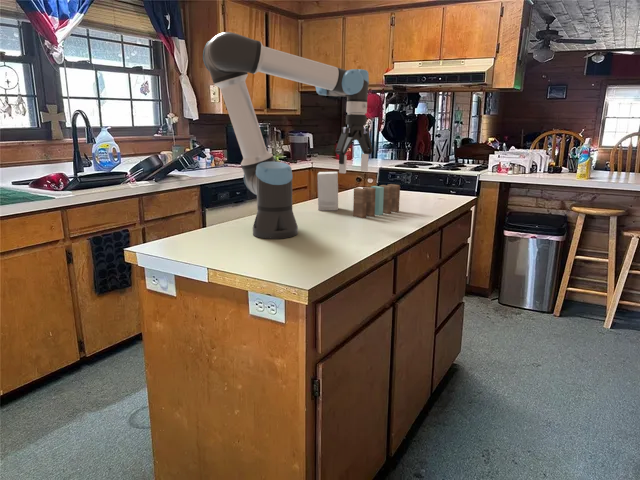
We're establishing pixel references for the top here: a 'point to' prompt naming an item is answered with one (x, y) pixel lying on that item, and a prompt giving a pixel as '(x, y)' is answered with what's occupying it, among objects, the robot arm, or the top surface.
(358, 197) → the domino
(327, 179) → the skincare box
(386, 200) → the domino
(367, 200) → the domino
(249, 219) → the top surface
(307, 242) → the top surface
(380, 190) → the teal tile
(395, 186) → the domino
